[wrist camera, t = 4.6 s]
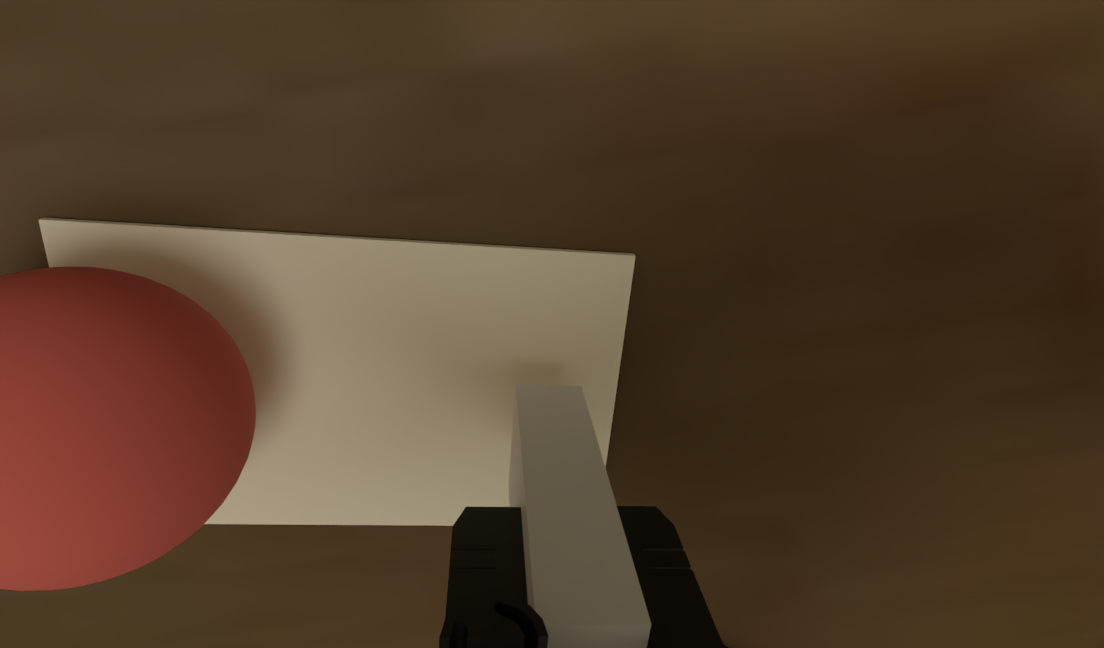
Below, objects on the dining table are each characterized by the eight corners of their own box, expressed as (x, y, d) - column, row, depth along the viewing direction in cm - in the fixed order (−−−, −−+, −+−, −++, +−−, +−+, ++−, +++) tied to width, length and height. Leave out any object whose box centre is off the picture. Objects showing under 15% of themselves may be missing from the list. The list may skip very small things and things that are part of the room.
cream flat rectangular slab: (633, 253, 15) (635, 255, 15) (596, 521, 18) (597, 526, 18) (44, 217, 13) (38, 219, 13) (110, 518, 16) (106, 523, 16)
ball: (-229, 245, 10) (156, 240, 15) (-181, 568, 11) (157, 462, 17) (-85, 329, 7) (324, 287, 12) (-44, 742, 9) (311, 550, 14)
